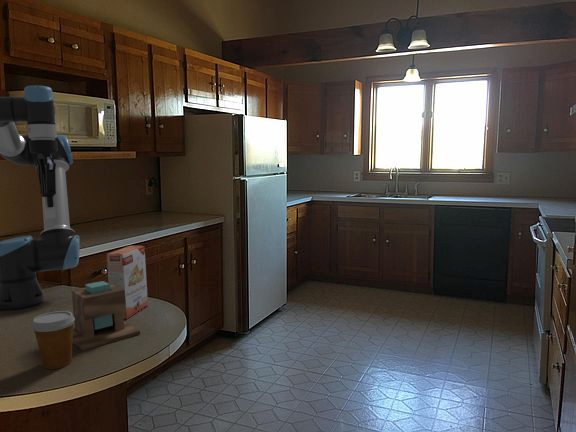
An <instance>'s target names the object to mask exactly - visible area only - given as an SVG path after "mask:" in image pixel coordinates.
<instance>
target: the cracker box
mask: <svg viewBox="0 0 576 432" xmlns="http://www.w3.org/2000/svg"><path fill="white" fill-rule="evenodd" d="M106 265H107V279H108V282H107V283H112V284H114V285H116V286H118V287H120V288H122V289H124V290H125V300H126V311H123V317H124V320H128V319H129V318H131V317H132V316H134V315H135V313H136V314H137V313H138V311H139V312H140V311H142V310H143V308H144V307H145V308H147V307H148V306H149V303H148V302H149V301H148V299H149V298H148V285H147V283H148V281H147V269H146V268H147V266H146V247H145V246H143V245H128V246H126V247H123V248H120V249H118V250H113V251H112V252H109V253H106ZM147 305H148V306H147ZM146 306H147V307H146ZM145 308H144V309H145ZM141 309H142V310H141Z"/></svg>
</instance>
